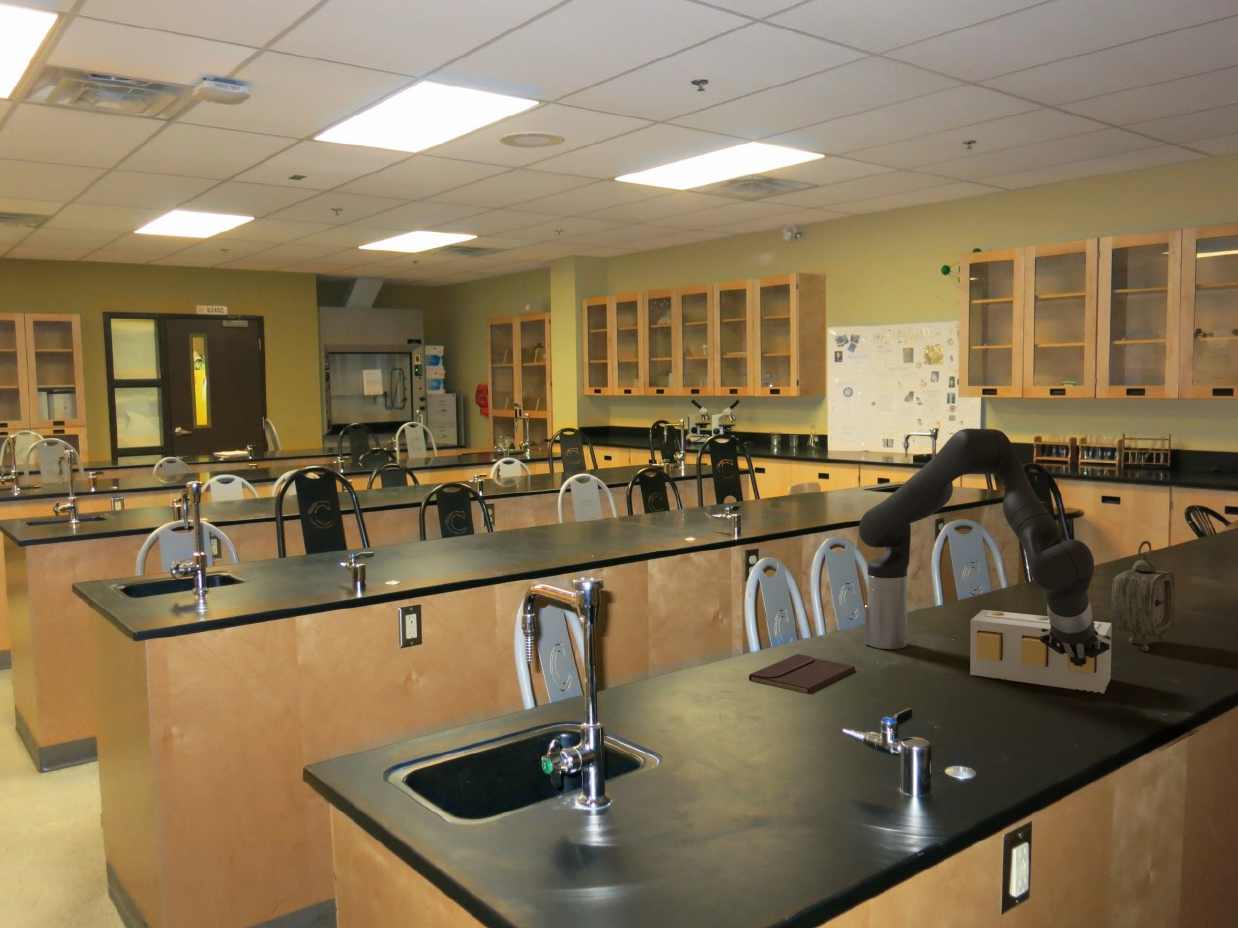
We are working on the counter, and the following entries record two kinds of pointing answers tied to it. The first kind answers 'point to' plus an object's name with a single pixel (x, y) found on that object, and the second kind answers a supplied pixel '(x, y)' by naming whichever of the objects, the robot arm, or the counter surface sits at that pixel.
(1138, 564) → the tabletop clock
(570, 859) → the counter surface
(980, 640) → the button
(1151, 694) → the counter surface
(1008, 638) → the button console
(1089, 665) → the button
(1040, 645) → the middle button
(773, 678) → the notebook
